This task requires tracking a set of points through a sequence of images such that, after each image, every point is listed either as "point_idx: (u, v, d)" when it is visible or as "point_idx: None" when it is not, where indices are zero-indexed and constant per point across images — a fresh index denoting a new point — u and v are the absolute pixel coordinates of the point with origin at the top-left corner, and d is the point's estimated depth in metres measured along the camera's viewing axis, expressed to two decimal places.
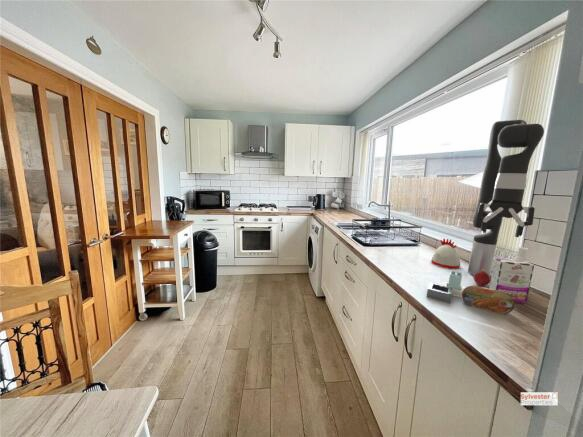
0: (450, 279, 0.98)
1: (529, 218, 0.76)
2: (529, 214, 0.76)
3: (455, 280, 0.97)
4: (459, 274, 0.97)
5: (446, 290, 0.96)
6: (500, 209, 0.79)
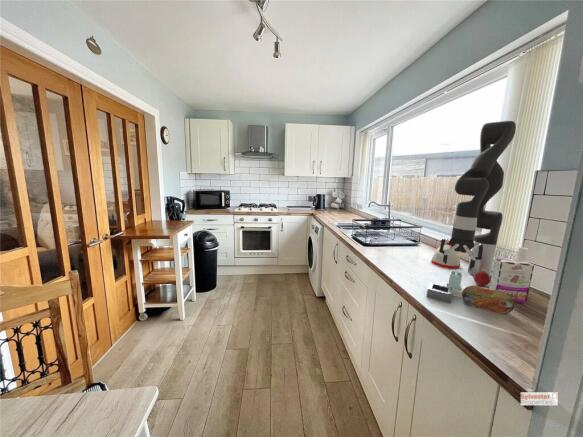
0: (450, 279, 0.98)
1: (479, 254, 0.92)
2: (479, 251, 0.92)
3: (455, 280, 0.97)
4: (459, 274, 0.97)
5: (446, 290, 0.96)
6: (457, 245, 0.96)
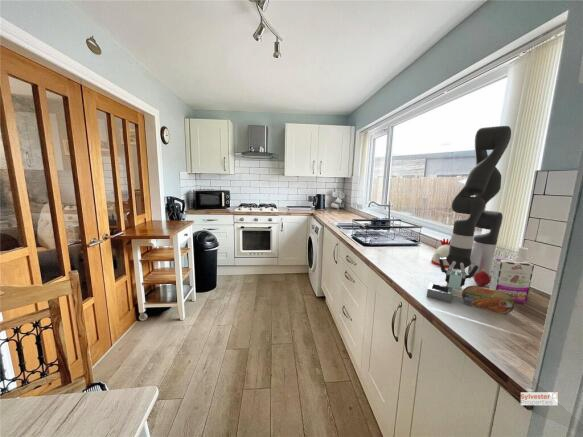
0: (450, 279, 0.98)
1: (471, 273, 0.95)
2: (472, 270, 0.94)
3: (455, 280, 0.97)
4: (459, 274, 0.97)
5: (446, 290, 0.96)
6: (454, 262, 0.97)
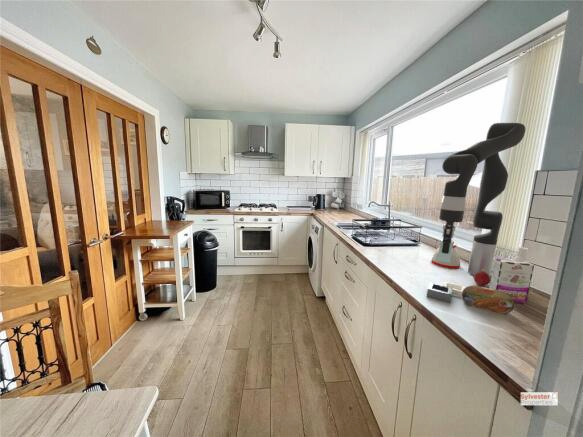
0: None
1: None
2: None
3: None
4: None
5: (446, 290, 0.96)
6: None
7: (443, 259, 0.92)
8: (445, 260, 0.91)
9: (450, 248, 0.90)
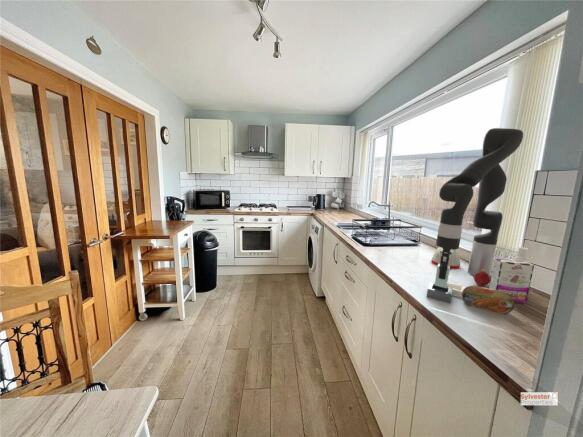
0: None
1: (440, 263, 0.90)
2: None
3: None
4: None
5: (446, 290, 0.96)
6: (440, 251, 0.95)
7: (440, 284, 0.93)
8: (442, 285, 0.93)
9: (447, 274, 0.91)
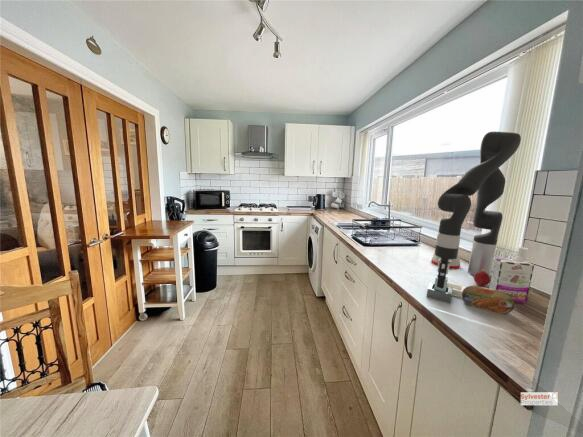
0: None
1: (438, 272, 0.90)
2: None
3: None
4: None
5: (446, 290, 0.96)
6: None
7: None
8: None
9: (445, 286, 0.92)
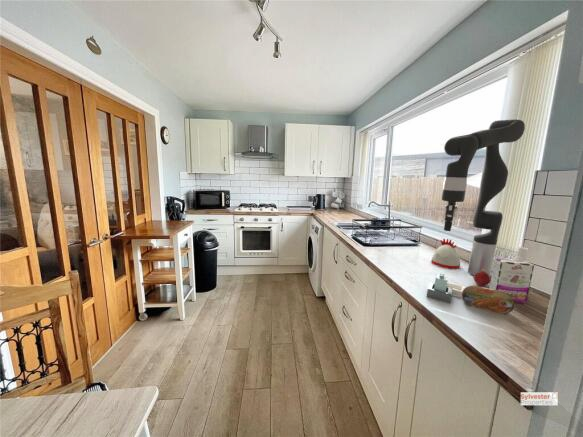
0: None
1: (445, 214, 0.91)
2: None
3: None
4: (439, 276, 0.94)
5: (446, 290, 0.96)
6: None
7: None
8: None
9: (445, 286, 0.92)
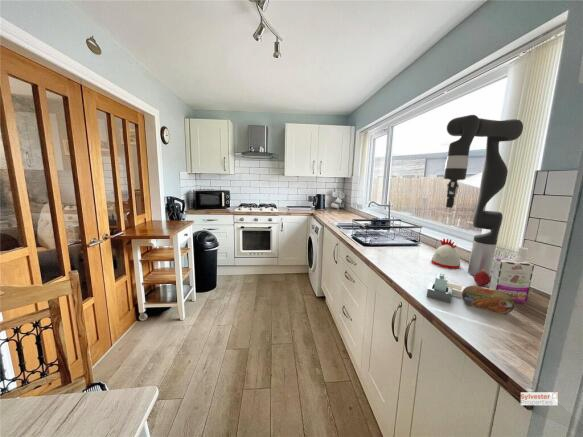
0: None
1: (448, 191, 0.94)
2: None
3: None
4: (439, 276, 0.94)
5: (446, 290, 0.96)
6: None
7: None
8: None
9: (445, 286, 0.92)
